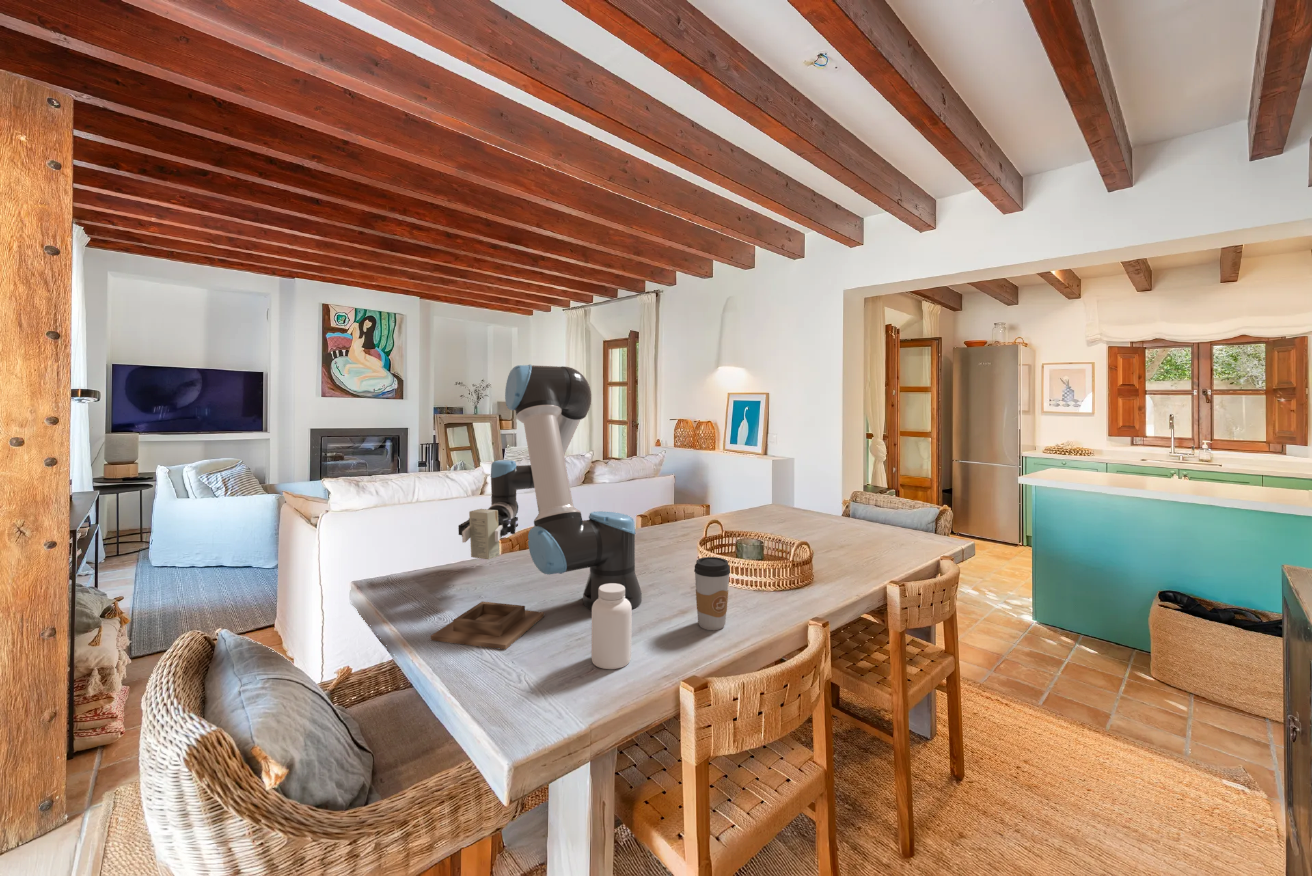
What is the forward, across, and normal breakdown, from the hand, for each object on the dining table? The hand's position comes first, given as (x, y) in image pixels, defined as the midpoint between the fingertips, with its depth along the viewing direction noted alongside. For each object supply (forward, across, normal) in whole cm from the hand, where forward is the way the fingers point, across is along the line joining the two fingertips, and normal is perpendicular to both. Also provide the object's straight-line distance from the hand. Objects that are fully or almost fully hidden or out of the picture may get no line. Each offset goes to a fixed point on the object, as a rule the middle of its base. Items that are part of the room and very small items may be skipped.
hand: (480, 536), depth 133 cm
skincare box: (-5, 0, -7) cm, 8 cm away
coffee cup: (+17, -56, -18) cm, 61 cm away
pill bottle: (+32, -32, -18) cm, 49 cm away
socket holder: (+13, -5, -18) cm, 23 cm away
